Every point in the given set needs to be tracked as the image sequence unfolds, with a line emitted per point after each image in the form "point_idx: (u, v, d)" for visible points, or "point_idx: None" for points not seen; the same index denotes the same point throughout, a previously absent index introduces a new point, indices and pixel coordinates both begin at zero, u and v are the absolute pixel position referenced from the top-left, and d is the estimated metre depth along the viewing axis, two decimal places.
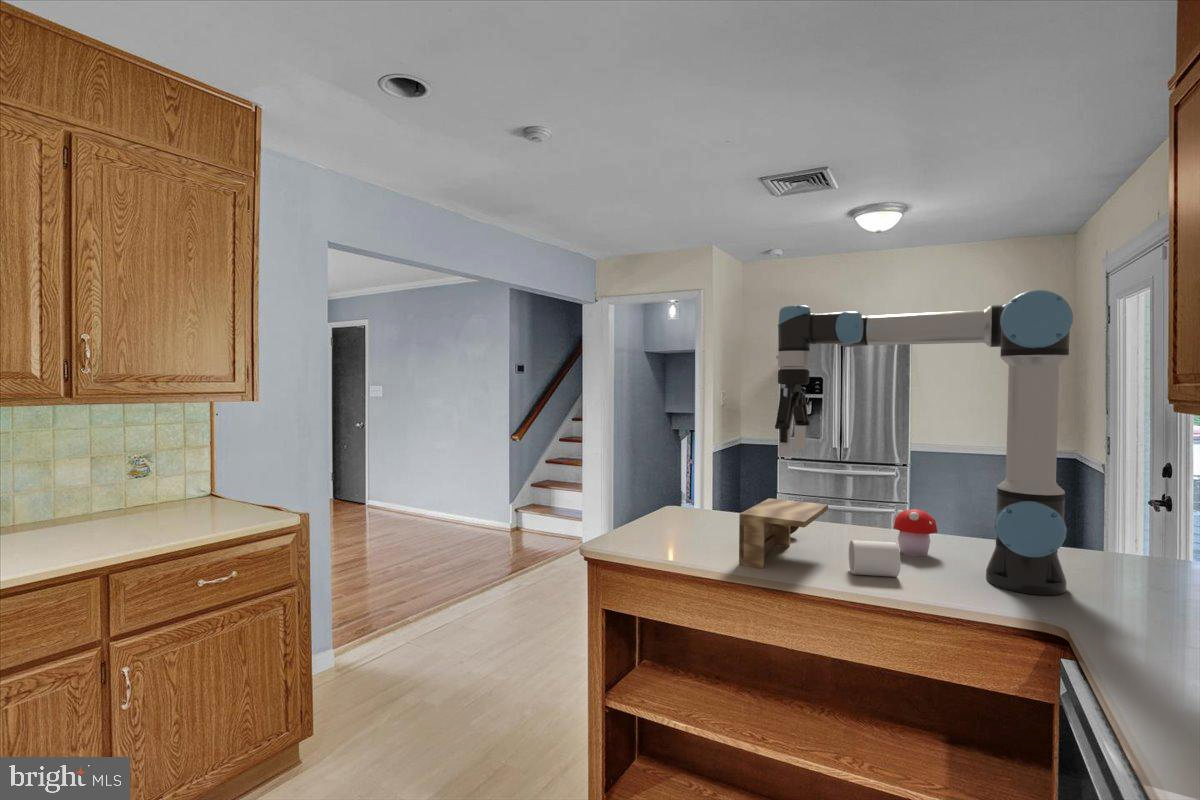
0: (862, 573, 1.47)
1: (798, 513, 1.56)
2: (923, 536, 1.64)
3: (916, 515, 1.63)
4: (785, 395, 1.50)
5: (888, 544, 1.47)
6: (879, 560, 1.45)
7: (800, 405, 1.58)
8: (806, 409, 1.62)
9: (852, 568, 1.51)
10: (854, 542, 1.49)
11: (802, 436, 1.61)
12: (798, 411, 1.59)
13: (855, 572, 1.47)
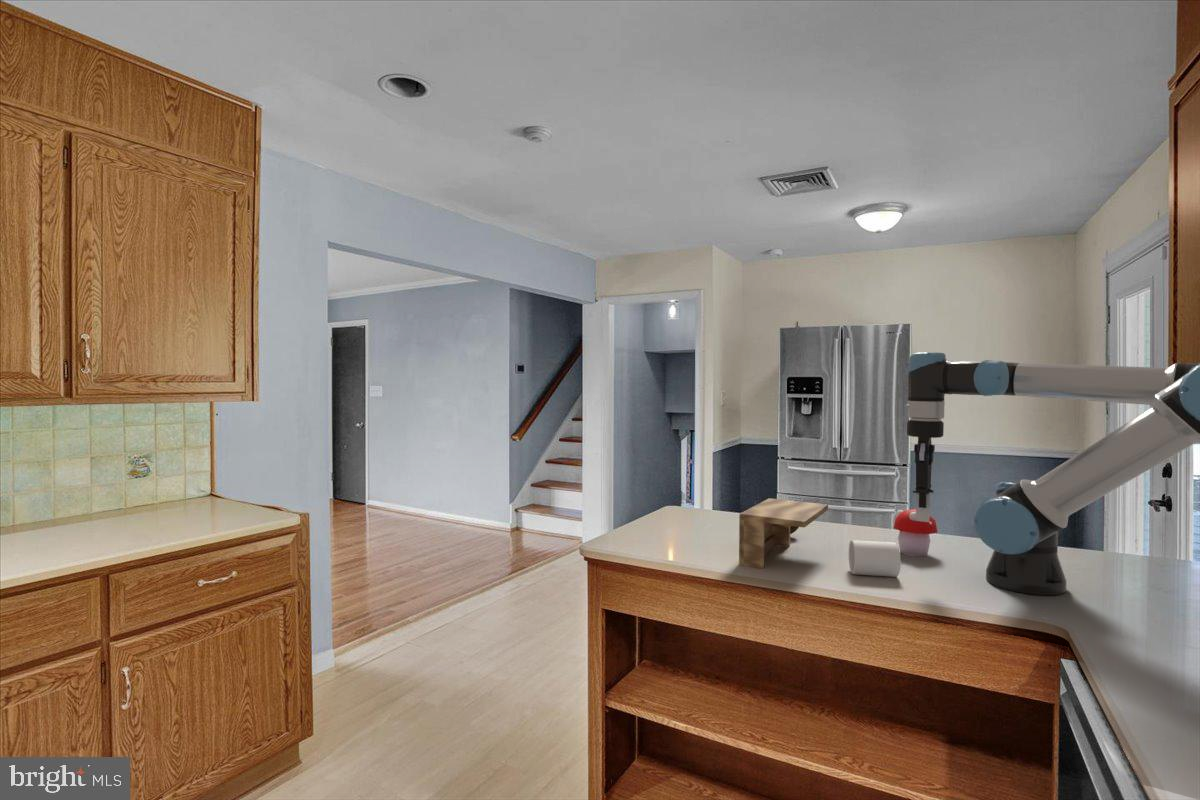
0: (862, 573, 1.47)
1: (798, 513, 1.56)
2: (923, 536, 1.64)
3: None
4: (922, 460, 1.40)
5: (888, 544, 1.47)
6: (879, 560, 1.45)
7: None
8: None
9: (852, 568, 1.51)
10: (854, 542, 1.49)
11: None
12: None
13: (855, 572, 1.47)
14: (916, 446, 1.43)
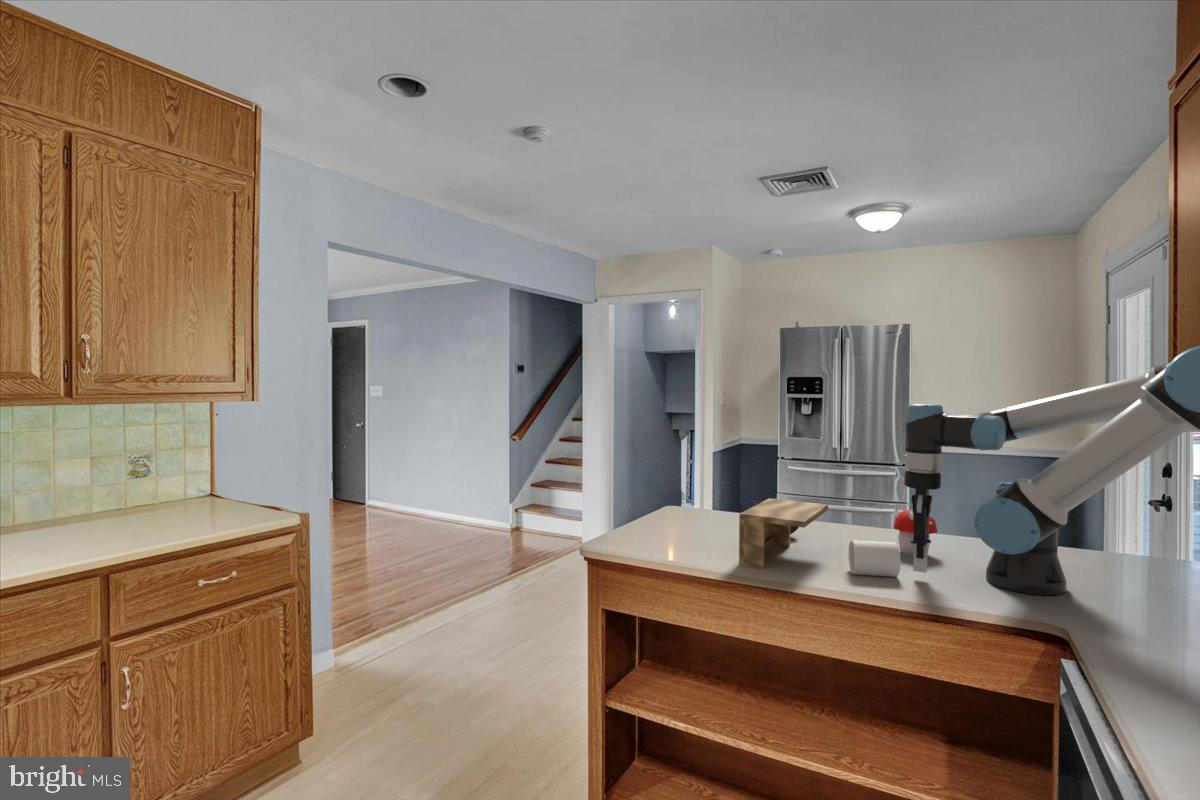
0: (862, 573, 1.47)
1: (798, 513, 1.56)
2: None
3: None
4: (919, 512, 1.40)
5: (888, 544, 1.47)
6: (879, 560, 1.45)
7: (927, 512, 1.45)
8: (928, 522, 1.48)
9: (852, 568, 1.51)
10: (854, 542, 1.49)
11: None
12: None
13: (855, 572, 1.47)
14: (913, 497, 1.44)
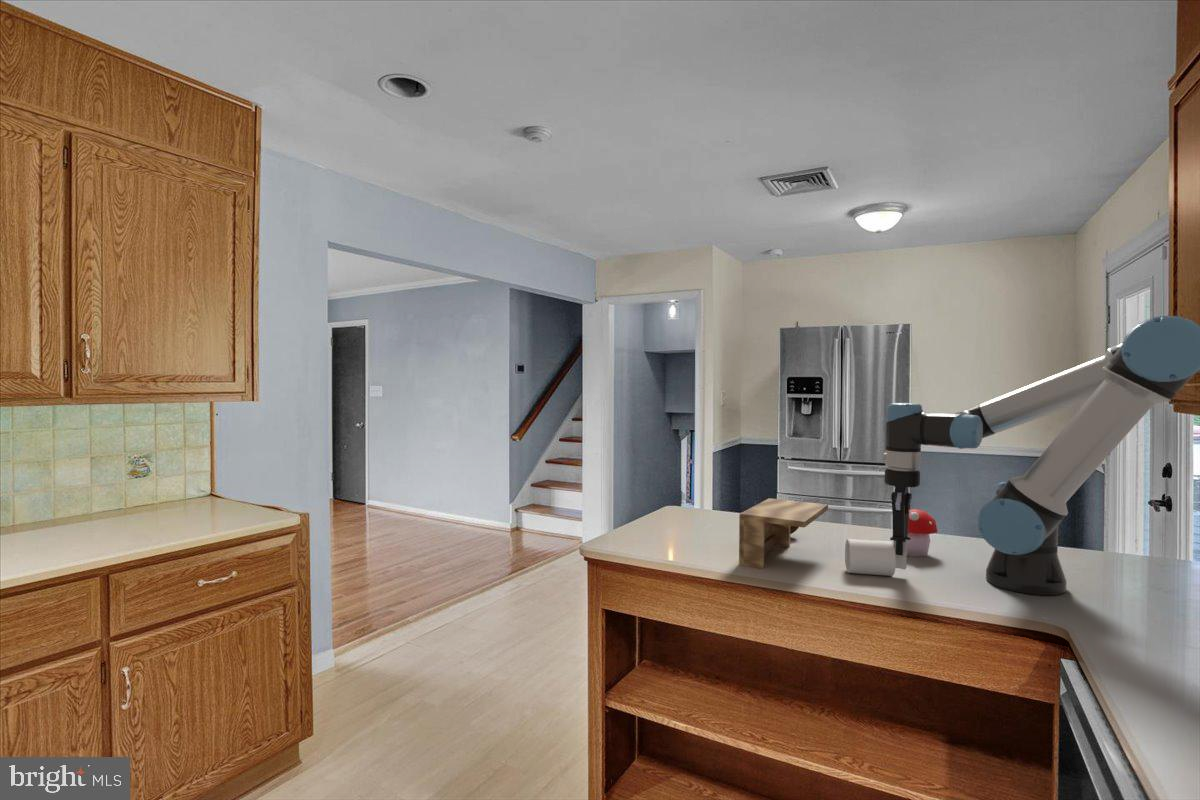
0: (857, 572, 1.48)
1: (798, 513, 1.56)
2: (923, 536, 1.64)
3: (916, 515, 1.63)
4: (898, 509, 1.43)
5: (884, 543, 1.48)
6: (874, 559, 1.46)
7: None
8: (908, 519, 1.50)
9: (848, 567, 1.52)
10: (850, 541, 1.49)
11: None
12: None
13: (850, 571, 1.48)
14: (893, 495, 1.46)
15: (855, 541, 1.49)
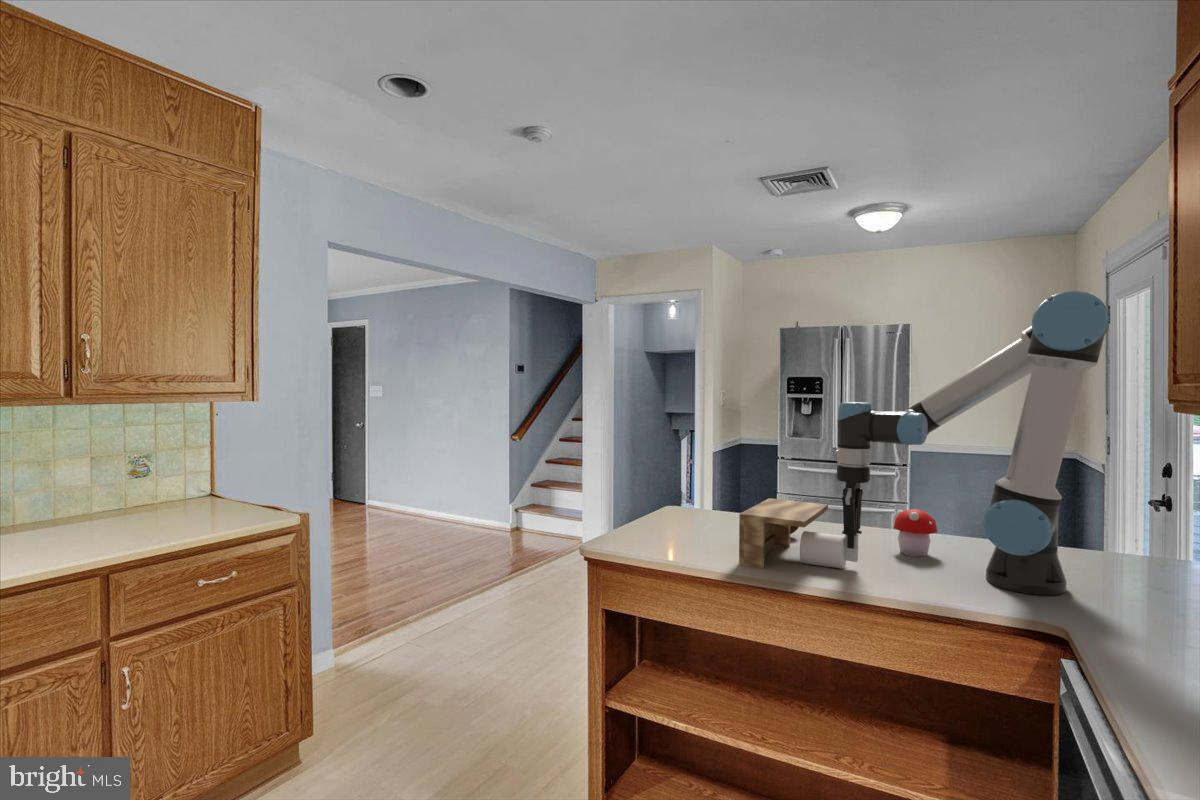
0: (809, 562, 1.56)
1: (798, 513, 1.56)
2: (923, 536, 1.64)
3: (916, 515, 1.63)
4: (848, 504, 1.48)
5: (835, 537, 1.54)
6: (821, 551, 1.52)
7: None
8: (860, 514, 1.56)
9: None
10: (803, 533, 1.57)
11: None
12: None
13: (802, 561, 1.56)
14: (844, 490, 1.52)
15: (808, 533, 1.57)
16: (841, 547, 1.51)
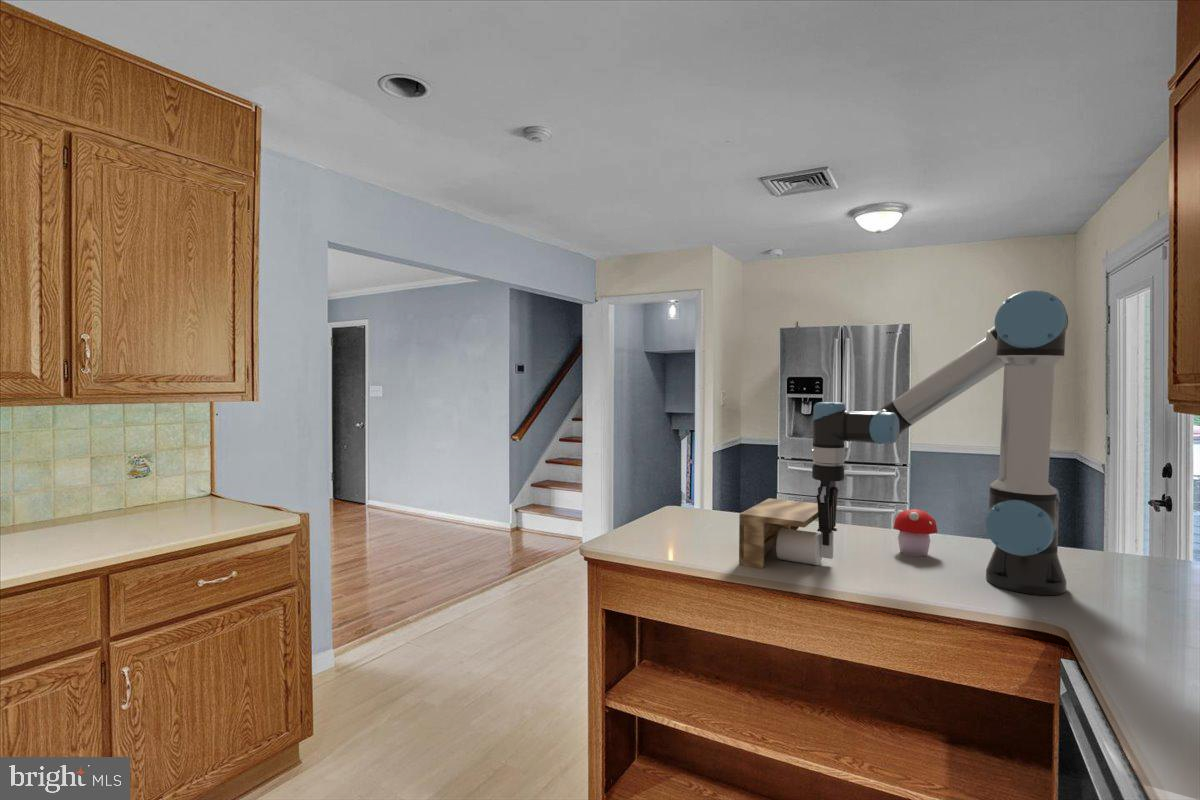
0: (785, 558, 1.59)
1: (798, 513, 1.56)
2: (923, 536, 1.64)
3: (916, 515, 1.63)
4: (822, 502, 1.51)
5: (810, 534, 1.57)
6: (796, 547, 1.56)
7: None
8: (835, 512, 1.59)
9: None
10: (780, 530, 1.61)
11: None
12: None
13: (778, 557, 1.60)
14: (819, 488, 1.55)
15: (785, 530, 1.60)
16: (815, 544, 1.54)
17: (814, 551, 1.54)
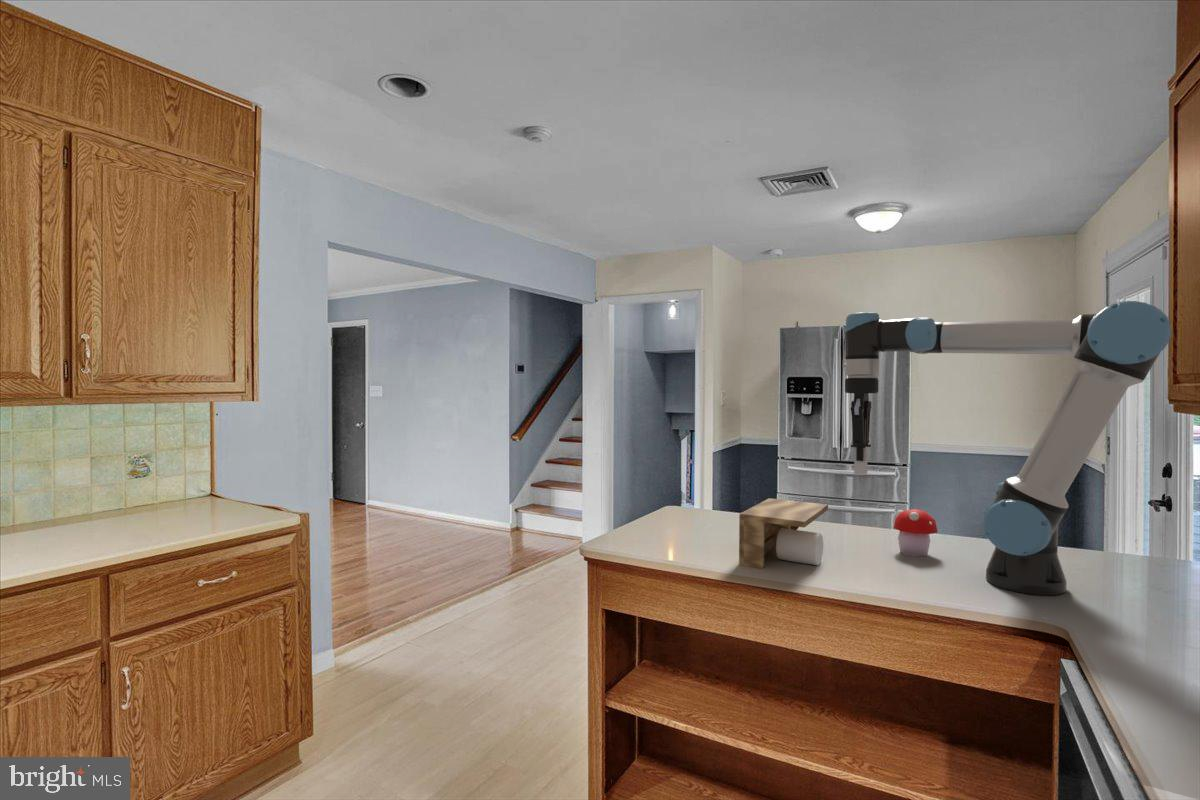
0: (785, 558, 1.59)
1: (798, 513, 1.56)
2: (923, 536, 1.64)
3: (916, 515, 1.63)
4: (857, 414, 1.47)
5: (810, 534, 1.57)
6: (796, 547, 1.56)
7: None
8: (869, 428, 1.54)
9: None
10: (780, 530, 1.61)
11: None
12: None
13: (778, 557, 1.60)
14: (853, 402, 1.51)
15: (785, 530, 1.60)
16: (815, 544, 1.54)
17: (814, 551, 1.54)
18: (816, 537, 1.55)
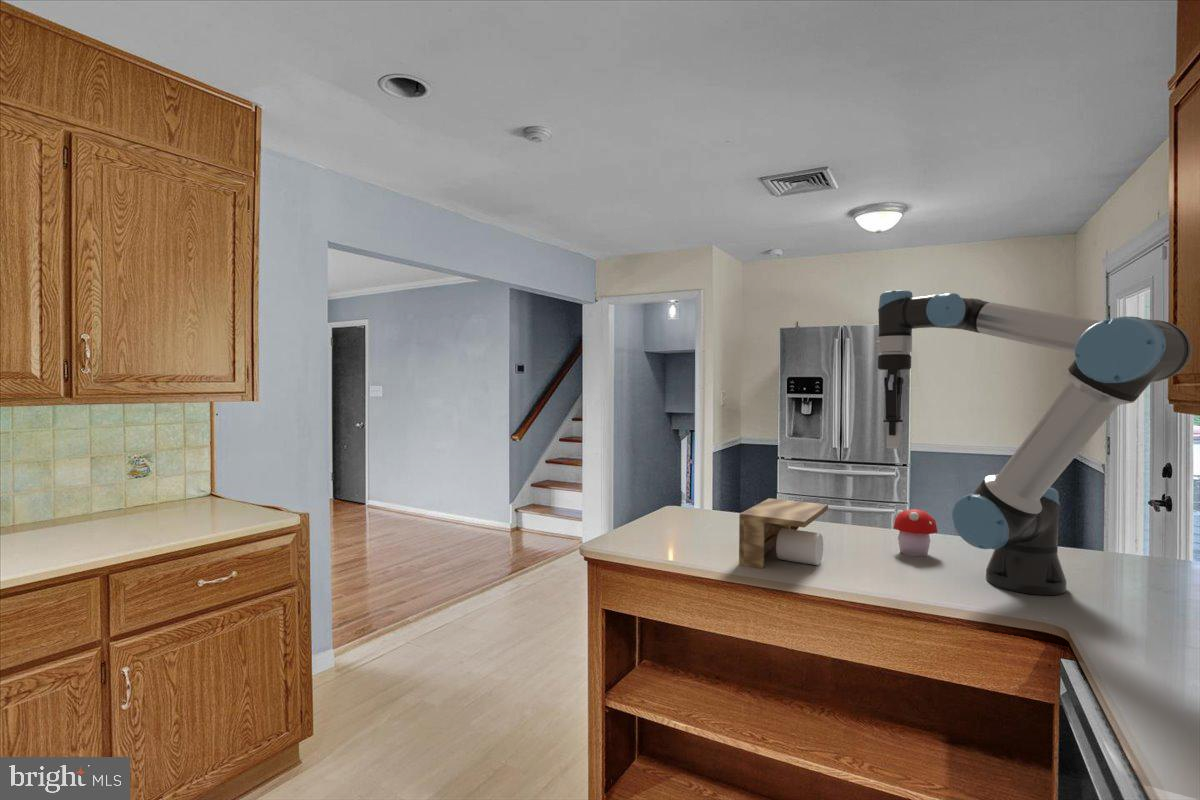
0: (785, 558, 1.59)
1: (798, 513, 1.56)
2: (923, 536, 1.64)
3: (916, 515, 1.63)
4: (890, 389, 1.51)
5: (810, 534, 1.57)
6: (796, 547, 1.56)
7: None
8: (900, 404, 1.58)
9: None
10: (780, 530, 1.61)
11: None
12: None
13: (778, 557, 1.60)
14: (886, 378, 1.55)
15: (785, 530, 1.60)
16: (815, 544, 1.54)
17: (814, 551, 1.54)
18: (816, 537, 1.55)
